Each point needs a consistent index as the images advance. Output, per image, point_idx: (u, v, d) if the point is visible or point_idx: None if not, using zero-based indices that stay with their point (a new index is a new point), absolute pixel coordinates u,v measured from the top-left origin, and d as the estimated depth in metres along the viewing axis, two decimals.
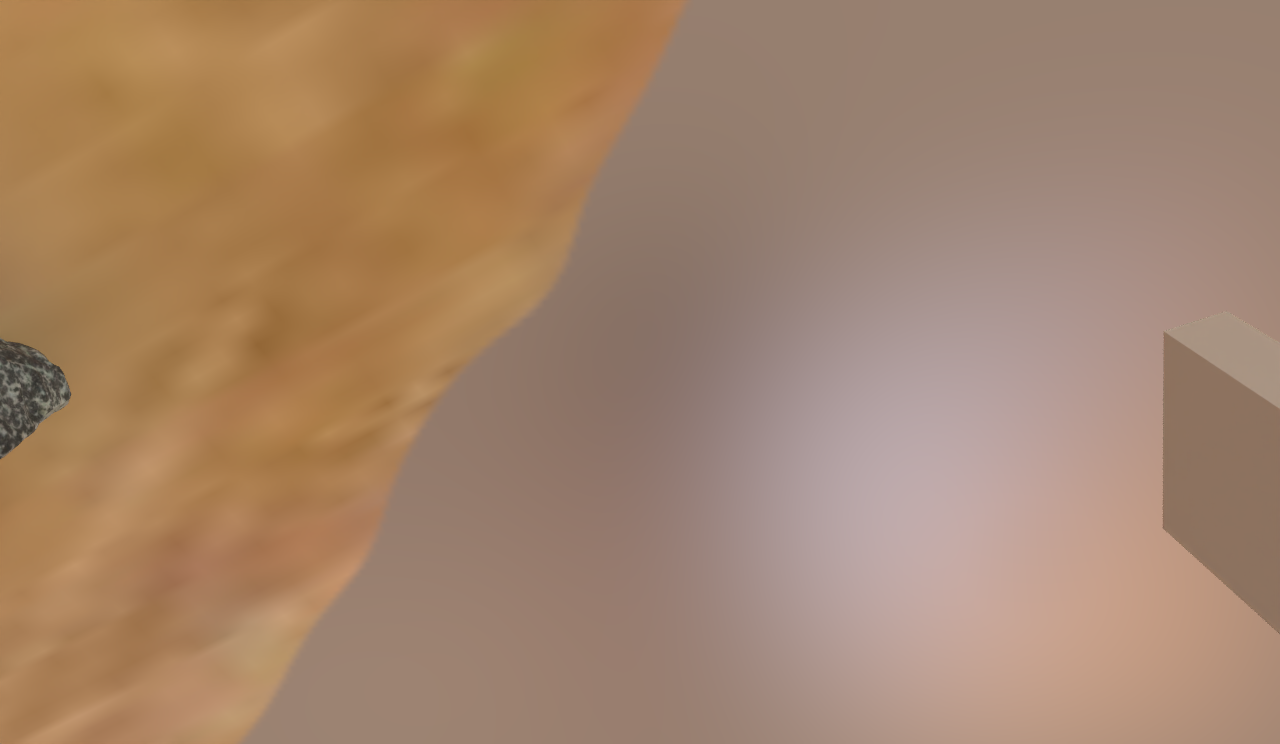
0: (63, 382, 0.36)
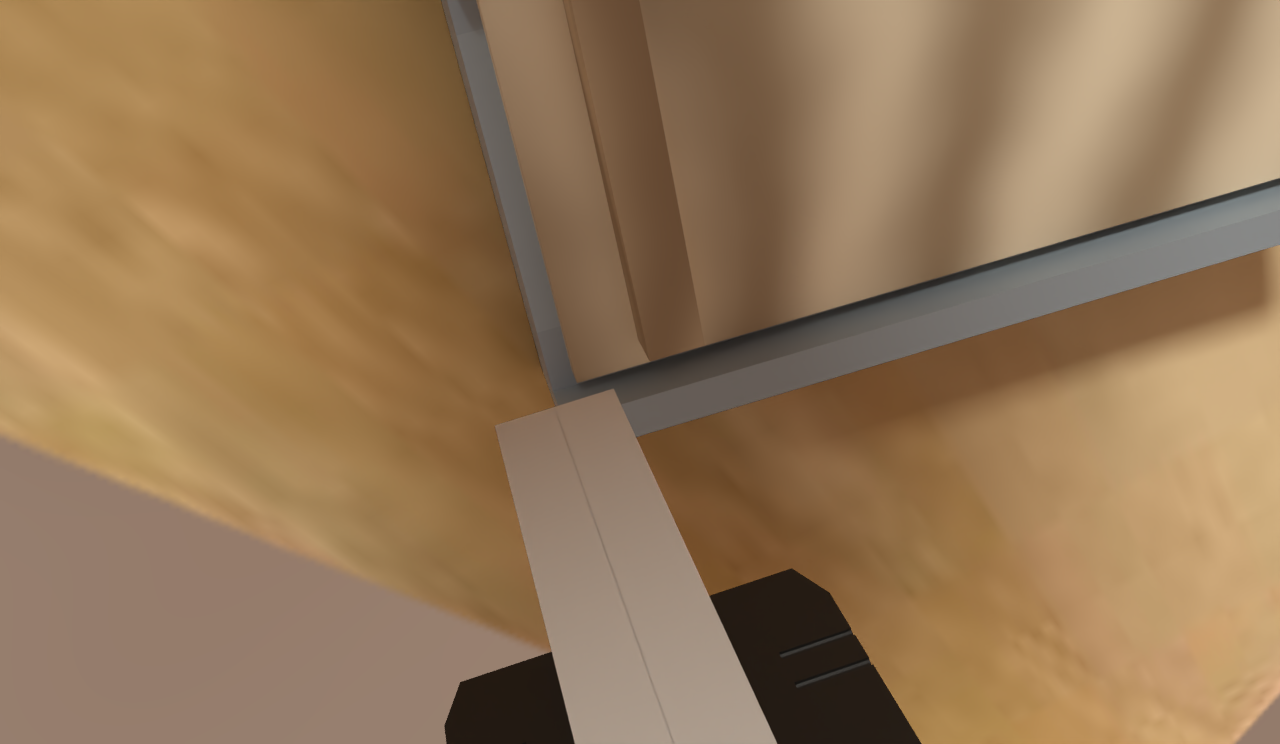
0: None
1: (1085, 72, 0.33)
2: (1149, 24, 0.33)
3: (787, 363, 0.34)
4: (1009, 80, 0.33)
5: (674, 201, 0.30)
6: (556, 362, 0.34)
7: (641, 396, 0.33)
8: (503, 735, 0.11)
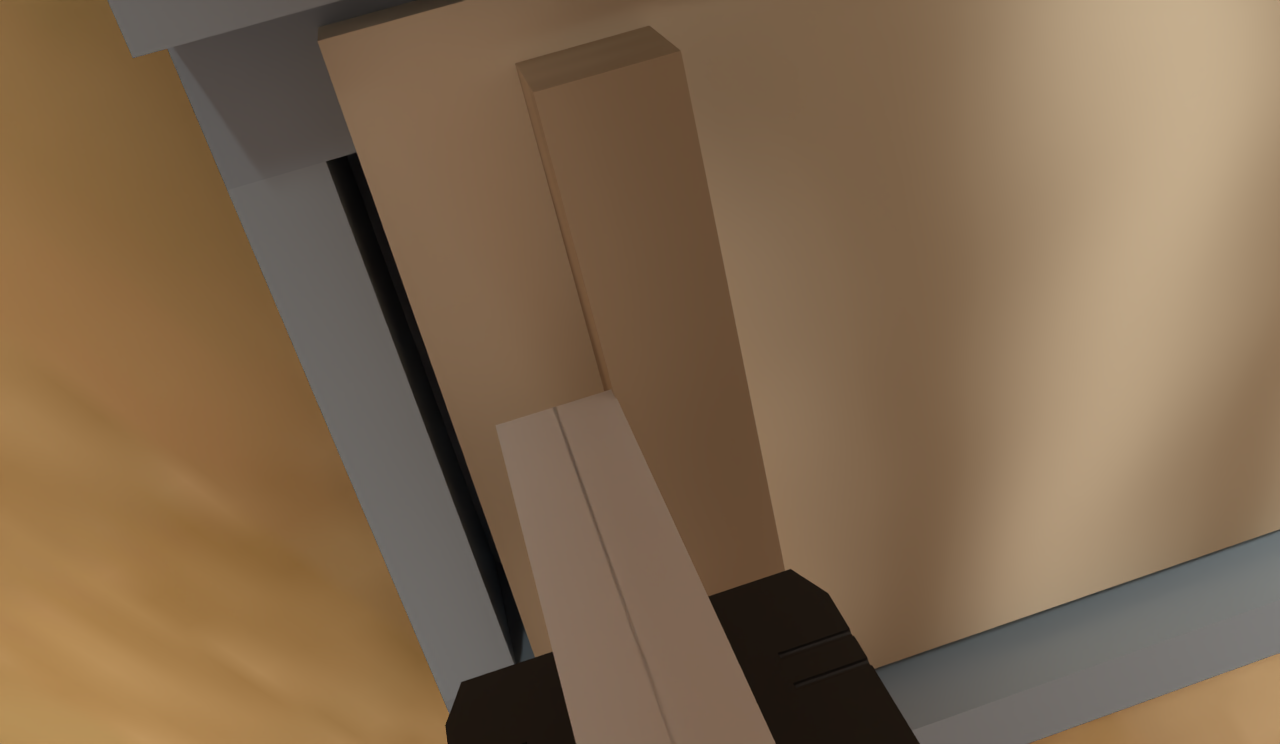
0: None
1: None
2: None
3: None
4: None
5: (762, 486, 0.15)
6: None
7: None
8: (505, 735, 0.11)
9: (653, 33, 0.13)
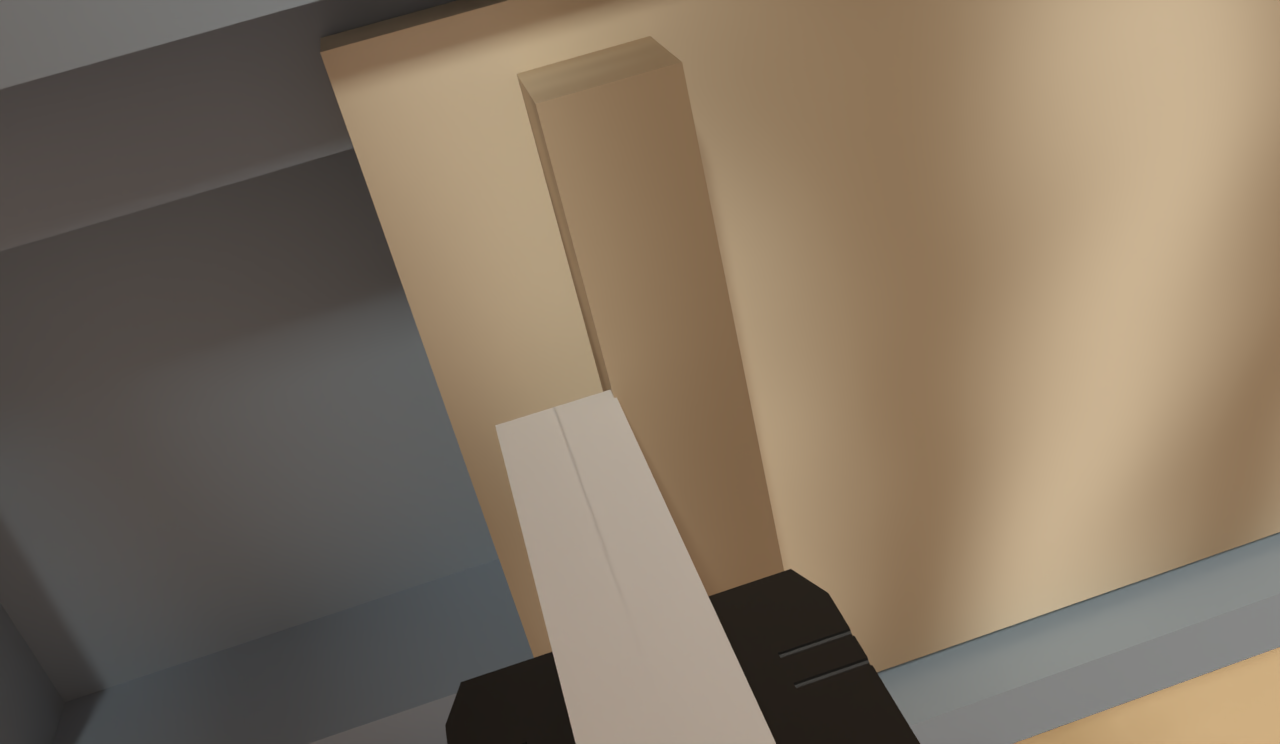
0: None
1: None
2: None
3: None
4: None
5: (762, 493, 0.15)
6: None
7: None
8: (504, 735, 0.11)
9: (654, 44, 0.13)
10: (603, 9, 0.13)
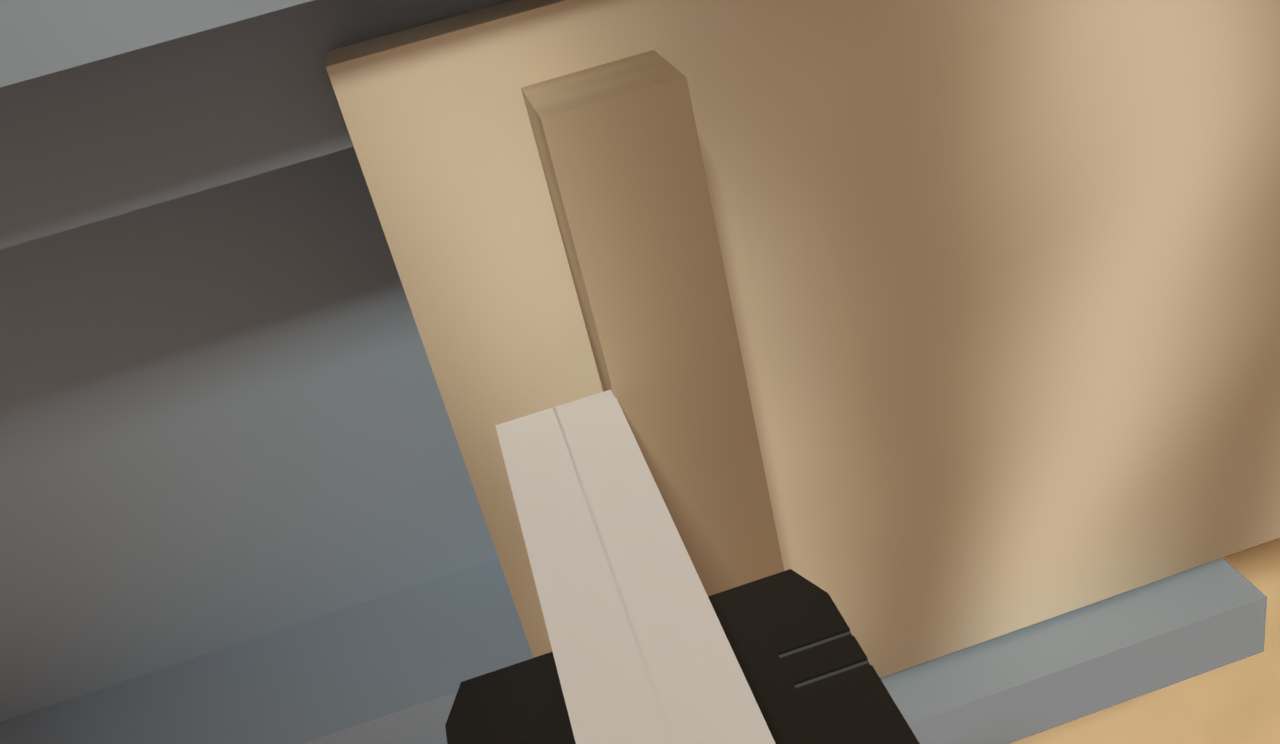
0: None
1: None
2: None
3: None
4: None
5: (764, 503, 0.15)
6: None
7: None
8: (503, 735, 0.11)
9: (658, 58, 0.13)
10: (607, 23, 0.13)
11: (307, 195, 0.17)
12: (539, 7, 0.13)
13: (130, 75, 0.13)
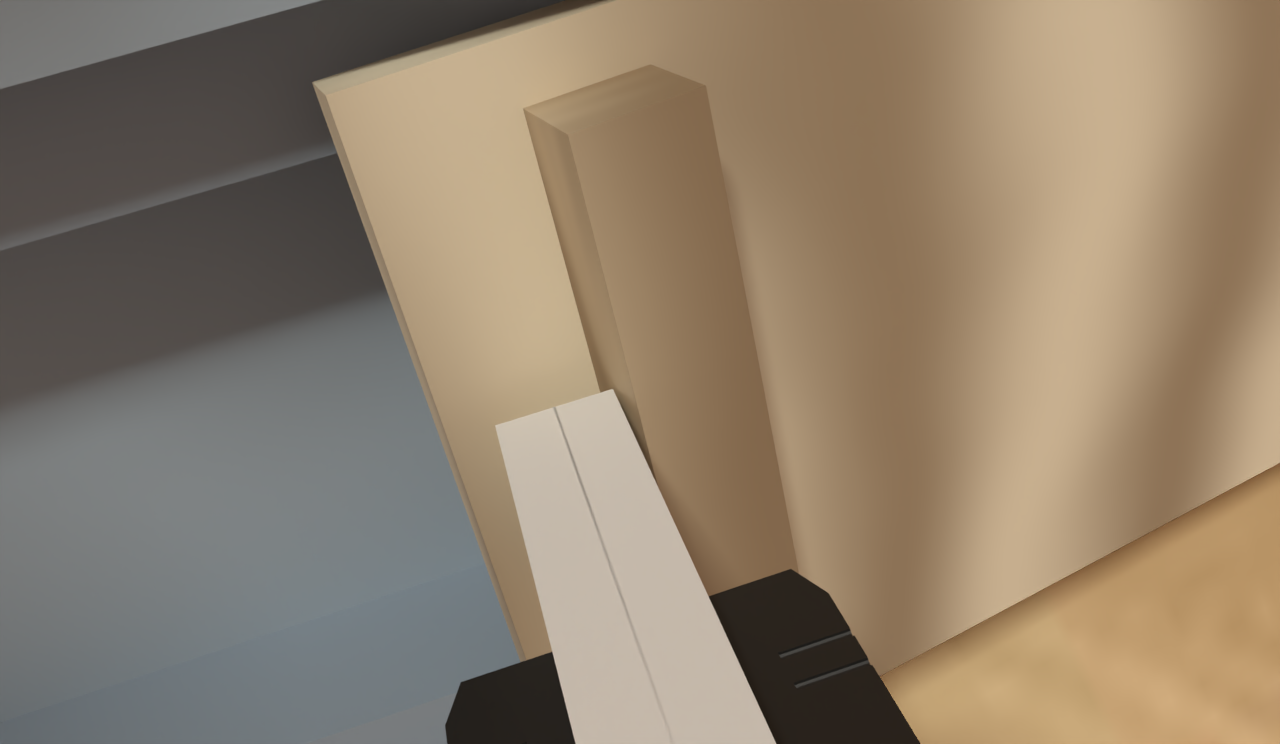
0: None
1: None
2: None
3: None
4: (1279, 200, 0.19)
5: (781, 512, 0.15)
6: None
7: None
8: (504, 735, 0.11)
9: (661, 71, 0.13)
10: (606, 39, 0.13)
11: None
12: (539, 25, 0.13)
13: None
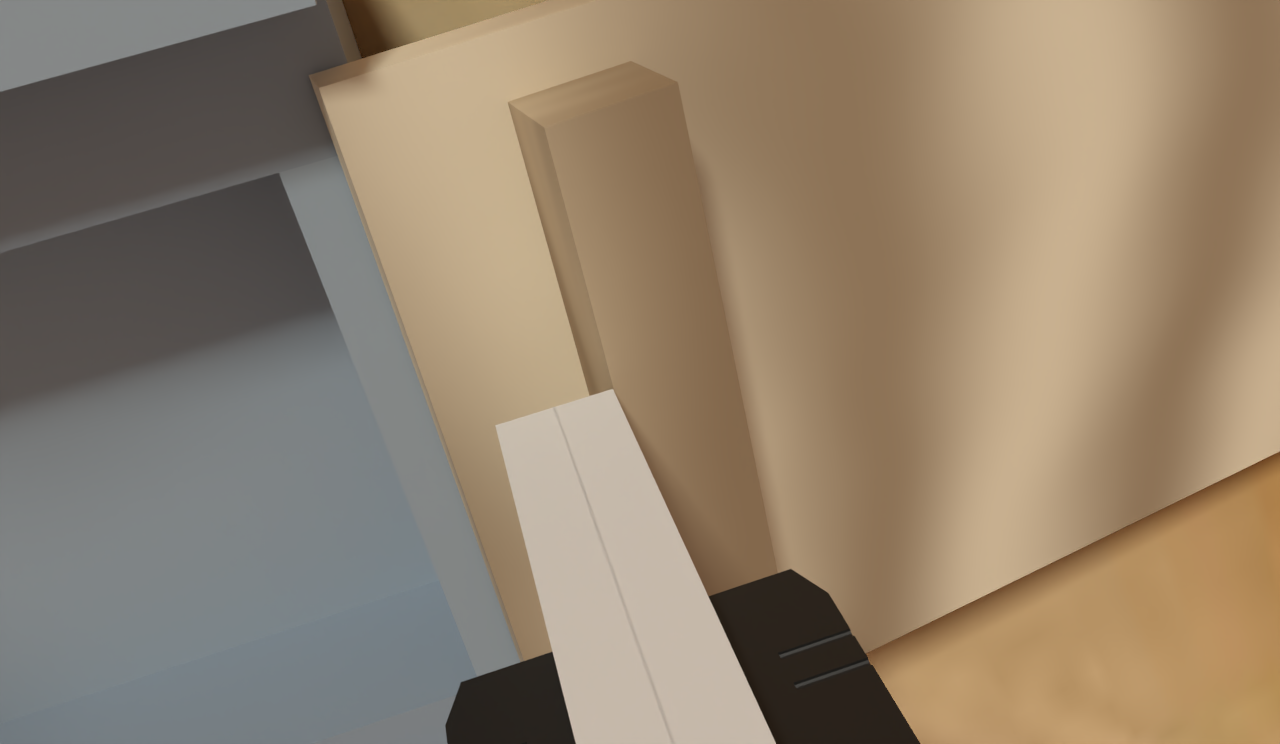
0: None
1: None
2: None
3: None
4: (1263, 198, 0.19)
5: (755, 492, 0.16)
6: None
7: None
8: (504, 735, 0.11)
9: (639, 67, 0.14)
10: (587, 37, 0.14)
11: None
12: (523, 23, 0.14)
13: None
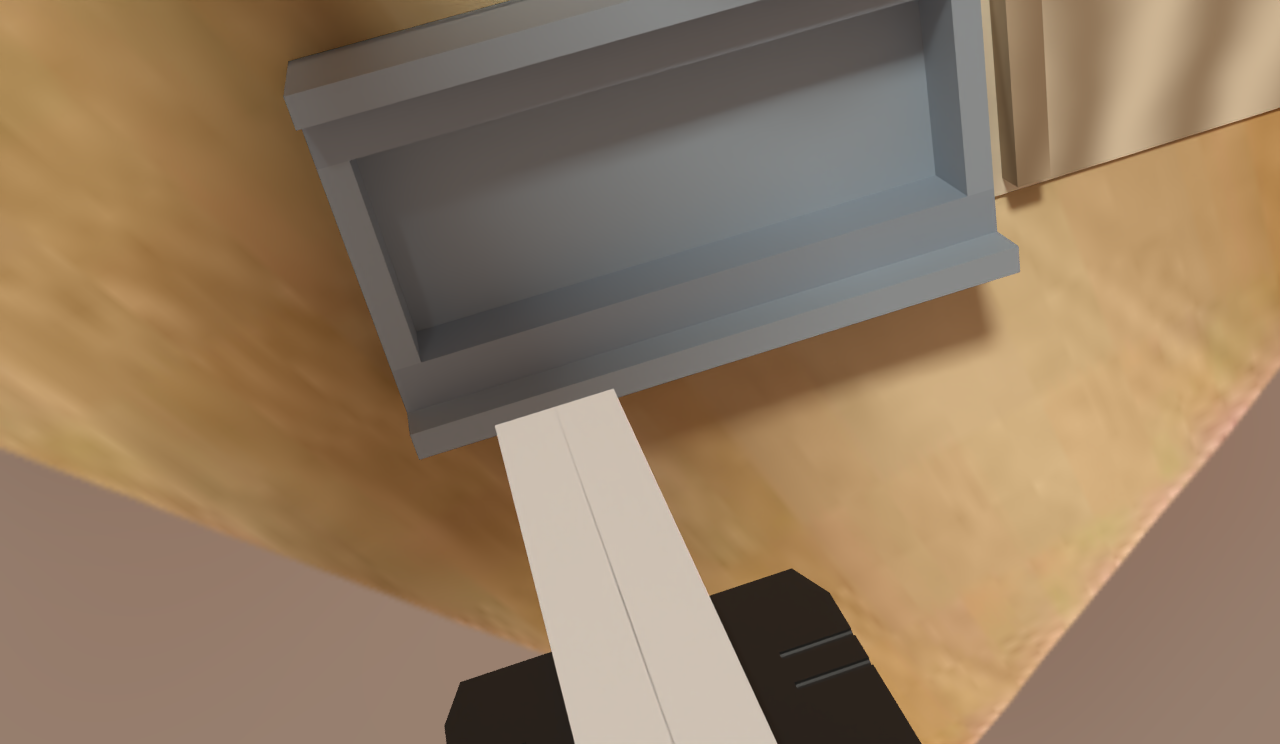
0: None
1: None
2: None
3: (574, 390, 0.47)
4: (1237, 6, 0.52)
5: (1044, 82, 0.50)
6: (408, 392, 0.47)
7: (466, 416, 0.46)
8: (503, 735, 0.11)
9: None
10: None
11: (659, 84, 0.47)
12: None
13: (638, 36, 0.43)
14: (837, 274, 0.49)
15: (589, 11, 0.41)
